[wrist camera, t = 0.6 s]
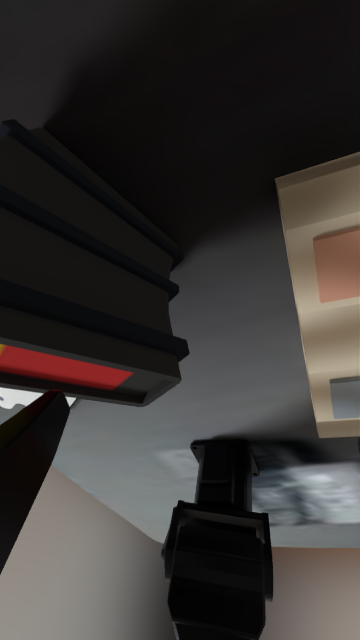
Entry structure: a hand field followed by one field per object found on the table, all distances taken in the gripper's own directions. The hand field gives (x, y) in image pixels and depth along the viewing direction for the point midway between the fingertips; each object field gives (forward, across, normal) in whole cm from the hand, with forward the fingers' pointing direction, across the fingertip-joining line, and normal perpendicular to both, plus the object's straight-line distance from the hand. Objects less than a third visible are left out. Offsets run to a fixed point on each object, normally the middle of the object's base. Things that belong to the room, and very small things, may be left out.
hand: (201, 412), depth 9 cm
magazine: (+14, +7, -2) cm, 16 cm away
